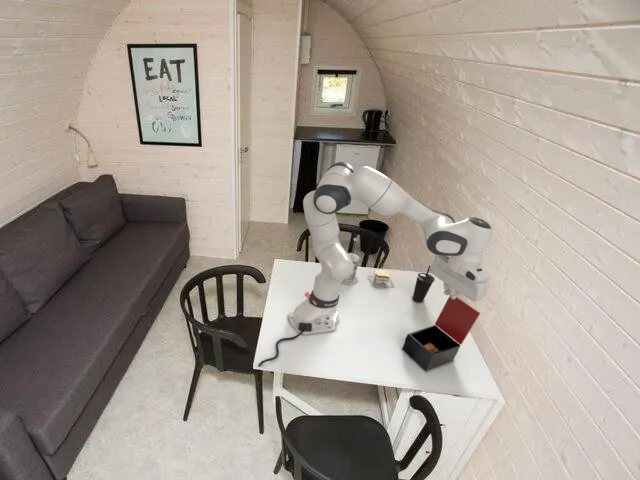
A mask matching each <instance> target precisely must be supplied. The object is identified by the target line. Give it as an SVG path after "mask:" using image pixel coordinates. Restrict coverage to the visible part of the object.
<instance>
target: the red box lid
mask: <svg viewBox="0 0 640 480" xmlns="http://www.w3.org/2000/svg"><path fill="white" fill-rule="evenodd" d="M480 314H481V312H479V311H478V310H477V309H475V308H474V307H472V306H470V305H469V304H468V303H467V302H465V301H463V300H462V299H460V298H459V297H456V298H455V299H451V298H450V297H449V296H448V298H447V300H446V301H445V303H444V305H443V308H442V310H441V311H440V312H439V315H438V317H437V319H436V321H435V322H434V325H436V326H437V327H438V328H439V329H441V330H442V331H443V332H444V333H446V334H447V335H448V336H449V337H451V338H452V339H453V340H454V341H456V342H457V343H458V344H459V345H461V346H462V345H463V343H464V341H465V340H466V338H467V337H468V335H469V334H470V331H471V330H472V328H473V327H474V324H475V323H476V321H477V320H478V318H479V316H480Z"/></svg>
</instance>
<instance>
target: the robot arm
mask: <svg viewBox="0 0 640 480" xmlns="http://www.w3.org/2000/svg"><path fill="white" fill-rule="evenodd" d="M352 200H356V201H359V202H360V203H362V204H363V205H365V206H366V207H367V208H368V209H370V210H371V211H373V212H375V213H376V214H379V215H381V216H383V217H392V216H395V215H397V214H402V215H403V216H405V217H407V218H408V219H410V220H412V221H413V222H415V223H416V224H418V225H419V226H420V228H421V229H422V231H423V233H424V237H425V238H424V239H425V244H426V248H427V250H428V251H429V252H430V253H432V254H433V255H435V256H434V259H433V261H431V264H430V265H429V266H430V268H429V267H428V268H429V273H430V275H432V276H433V277H435V278H437V279H439V280H440V281H442V282H443V289H444V290H443V294H444V295H446V296H448V298H449V297H450V298H451V299H455V298H456V297H457V296H458V295H460V294H461V295H463V297H466V298H467V299H469V300H470V301H472V302H473V303H475V302H480V301H482V300H484V299H485V297H486V295H487V293H488V290H489V286H490V284H489V280H491V278H492V276H493V275H492V273H491V272H490V271H489V270H488V268H487V267H486V266H485V265H484V264H483V263H482V257H483V253H484V252H485V251H486V250H487V247H488V246H489V243H490V239H491V237H492V232H493V228H492V226H491V225H490V224H489V222H487V221H485V220H484V219H481V218H479V217H476V216H475V217H474V216H470V217H467V218H465V219H463V220H461V221H458V222H456V221H455V219H454V217H453V216H451V215H450V214H449V213H446V212H443V211H438V210H434V209H431V208H430V207H429V206H427V205H426V204H424V203H423V202H421V201H420V200H418V199H416V198H414V197H413V196H411V195H410V194H409V193H408V192H407V191H406V190H405V189H404V188H402V187H401V186H400V185H399V184H398V183H397V182H395V181H394V180H392V179H391V178H390V177H388V176H387V175H385V174H384V173H382V172H381V171H378V170H376V169H374V168H372V167H369V166H366V165H365V166H360V167H358V168H357V169H355V170H354V168H353V166H352V165H351V164H349V163H347V162H345V161H338V162H334V163H333V164H332V165H330V166H329V167H328V168H327V170H326V171H325V173H324V174H323V175H322V177H321V179H320V180H319V183H318V185H317V187H316V189H315V190H312V191H310V192H308V193H307V194H306V195H305V196H304V198H303V200H302V205H303V211H304V212H303V213H304V218H305V221H306V224H307V228H308V231H309V234H310V238H311V240H312V241H311V242H312V250H313V253H314V256H315V257H316V258H317V261H318V262H319V263H320V266H321V270H320V272H319V273H316V276H315V278H314V284H313V289H312V290H311V292H309V291H305V293H304V296H305V297H306V299H305V300H304V301H302V302H301V303H300V304H298V305H296V307H295V309H294V311H293V312H290V313H289V314H288V321H289V323H290V325H291V326H292V327H293V329H294V330H295V331H297V333H298V334H296V335H295V336H292V337H283V338H280V339H279V340H277V341H276V343H275V349H276V350H275V351H276V354H275V356H273V357H270V358H266V359H264V360H262V361H260V362H259V364H257V367H258V368H260V367H261V366H262V365H263V364H265V363H266V362H270V361H271V362H272V361H274V360H276V359H277V358H278V357H279V353H280V350H279V344H280V343H281V342H283V341H291V340H295V339H297V338H299V337H300V336H301V335H310V334H319V333H326V332H333V331H335V329H336V325H337V323H338V311H337V309H338V304H339V300H340V290H341V285H342V280H344V279H346V278H348V277H349V276H350V275H351V274H352V273H353V271H354V265H353V262H352V260H351V257H350V256H349V255H348V253H349V252H347V251H346V249H345V248H344V247H343V245H342V244H341V242H340V239H339V234H340V226H339V223H338V219H337V214H336V213H338V212H339V211H341V210H342V209H343V208H346V207H347V206H349V205H351V201H352ZM451 288H452V289H454V292H452V290H451ZM457 298H458V297H457Z"/></svg>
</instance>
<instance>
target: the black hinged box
mask: <svg viewBox="0 0 640 480" xmlns="http://www.w3.org/2000/svg"><path fill="white" fill-rule="evenodd" d="M429 343H431V344H432V345H434V346H435V348H436V349H438V350H439V351H438V352H436V353H433V354H432V353H431V352H430V351H428V350H427V349H426V348H425V347H424V346H423V345H426V344H429ZM461 346H462V344H461V345H460V344H459V343H458V342H456V341H455V340H454V339H453V338H451V337H450V336H449V335H448V334H446V333H445V332H444V331H443V330H441V329H440V328H439V327H438V326H436V325H435V324H433V325H430V326H427V327H424V328H421V329H418V330H415V331H412V332H409V333H407V334H406V337H405V339H404V343H403V345H402V348H401V350H402V351H403V352H404V353H406V355H407V356H408V357H410V358H411V359H412V360H413V361H414V362H415V363H416V364H417V365H418V366H419V367H420V368H421V369H422V370H423V371H425V372H427V371H430V370H433V369H435V368H438V367H441V366H444V365H446V364H449V363H451V362H453V361H454V360H455V358H456V357H457V354H458V352H459V350H460V348H461Z"/></svg>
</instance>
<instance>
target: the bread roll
mask: <svg viewBox="0 0 640 480" xmlns="http://www.w3.org/2000/svg"><path fill="white" fill-rule="evenodd" d="M423 346H424V347H425V348H426V349H427V350H428V351H430V352H431V353H432V354H433V353H436V352H438V351H439V350H438V349H436V348H435V346H434V345H432V344H431V343H429V344H426V345H423Z"/></svg>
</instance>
